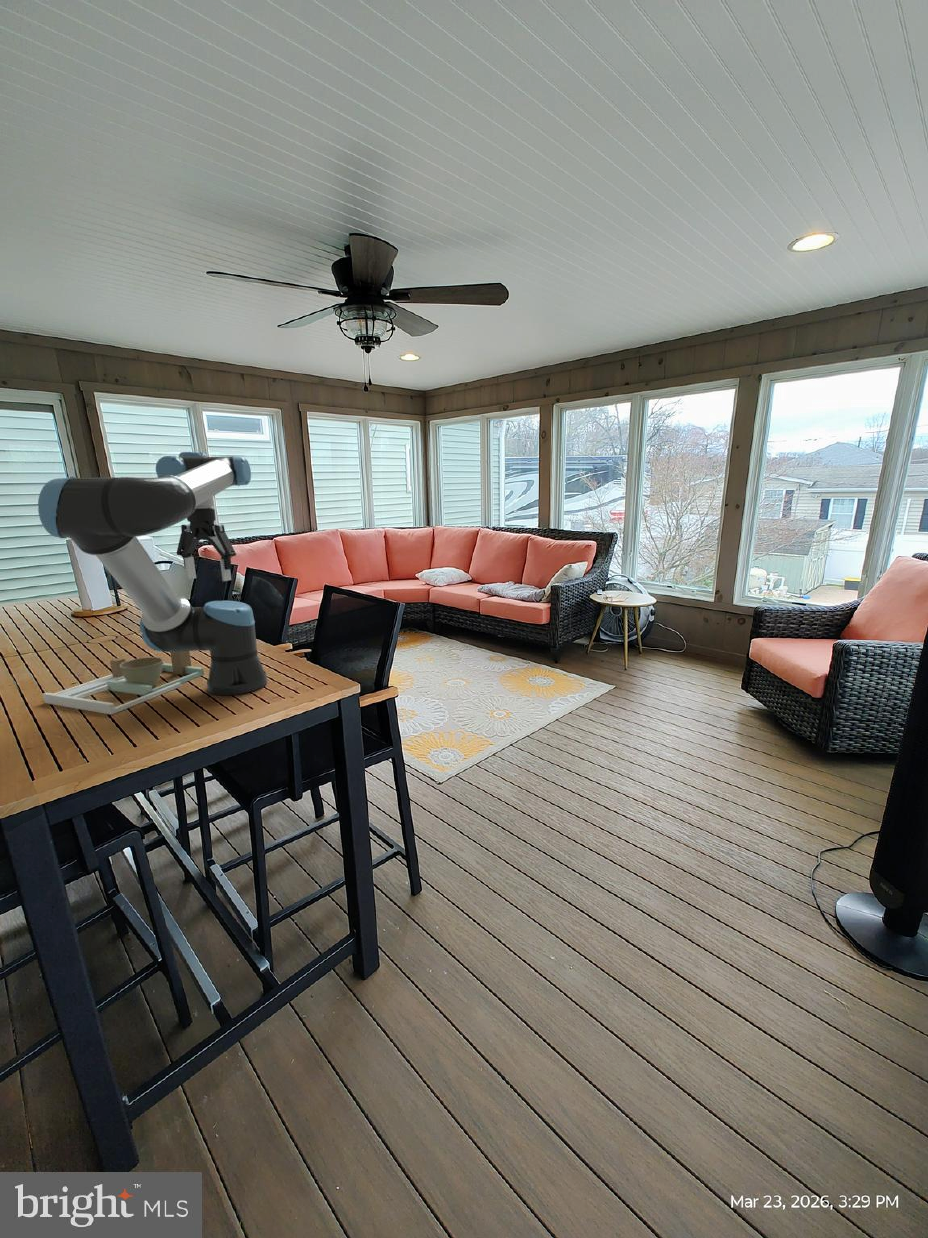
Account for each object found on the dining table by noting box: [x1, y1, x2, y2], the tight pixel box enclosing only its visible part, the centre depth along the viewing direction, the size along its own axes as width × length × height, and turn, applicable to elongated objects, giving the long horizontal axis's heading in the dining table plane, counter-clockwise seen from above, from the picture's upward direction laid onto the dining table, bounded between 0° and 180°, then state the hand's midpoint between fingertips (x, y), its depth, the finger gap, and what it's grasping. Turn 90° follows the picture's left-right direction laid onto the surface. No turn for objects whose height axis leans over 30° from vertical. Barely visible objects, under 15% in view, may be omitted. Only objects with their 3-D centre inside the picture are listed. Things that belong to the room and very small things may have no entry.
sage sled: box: [107, 651, 205, 696], centre depth 143 cm, size 15×19×10 cm
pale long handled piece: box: [59, 657, 126, 696], centre depth 138 cm, size 4×19×6 cm, turn 161°
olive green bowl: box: [120, 656, 164, 689], centre depth 139 cm, size 10×10×7 cm
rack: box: [42, 673, 182, 715], centre depth 134 cm, size 26×20×2 cm
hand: (209, 579), depth 153 cm, fingers open, 13 cm apart
